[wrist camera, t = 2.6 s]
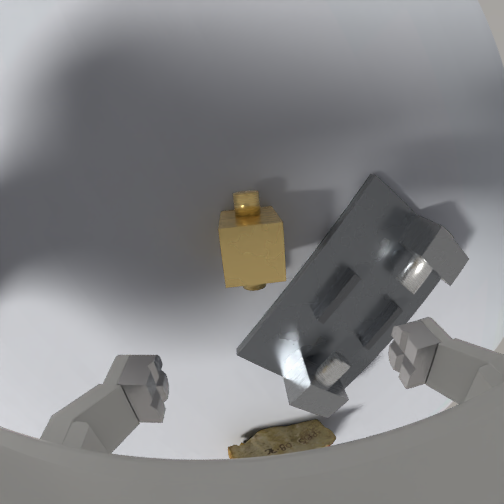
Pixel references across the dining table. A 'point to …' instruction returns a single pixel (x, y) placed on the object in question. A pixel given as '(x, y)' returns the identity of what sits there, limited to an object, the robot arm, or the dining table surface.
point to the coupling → (251, 243)
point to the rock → (284, 440)
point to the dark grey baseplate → (352, 297)
